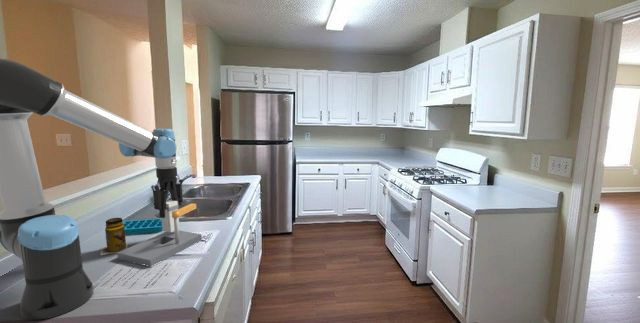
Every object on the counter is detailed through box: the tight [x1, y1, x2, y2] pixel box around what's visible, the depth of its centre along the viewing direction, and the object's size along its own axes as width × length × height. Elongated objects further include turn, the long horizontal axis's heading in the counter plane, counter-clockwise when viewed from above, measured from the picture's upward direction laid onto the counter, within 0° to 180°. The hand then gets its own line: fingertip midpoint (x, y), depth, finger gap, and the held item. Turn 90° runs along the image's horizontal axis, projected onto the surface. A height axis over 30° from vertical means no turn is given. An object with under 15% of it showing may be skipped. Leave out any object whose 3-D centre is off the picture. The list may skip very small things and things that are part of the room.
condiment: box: [99, 217, 128, 256], centre depth 113 cm, size 7×8×12 cm
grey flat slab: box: [117, 229, 203, 267], centre depth 114 cm, size 24×16×2 cm, turn 160°
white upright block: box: [162, 199, 180, 232], centre depth 123 cm, size 5×5×12 cm
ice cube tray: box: [122, 218, 164, 236], centre depth 134 cm, size 12×20×3 cm, turn 103°
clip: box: [172, 203, 197, 243], centre depth 118 cm, size 2×12×12 cm, turn 166°
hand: (170, 222), depth 123 cm, fingers closed on white upright block, 5 cm apart
